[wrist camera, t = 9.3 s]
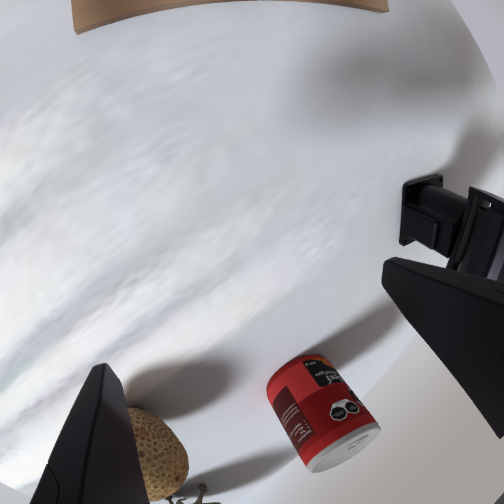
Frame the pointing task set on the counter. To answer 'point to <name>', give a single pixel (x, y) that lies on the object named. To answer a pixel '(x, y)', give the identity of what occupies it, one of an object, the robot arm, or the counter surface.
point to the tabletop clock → (203, 489)
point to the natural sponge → (158, 455)
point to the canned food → (320, 413)
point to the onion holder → (139, 3)
